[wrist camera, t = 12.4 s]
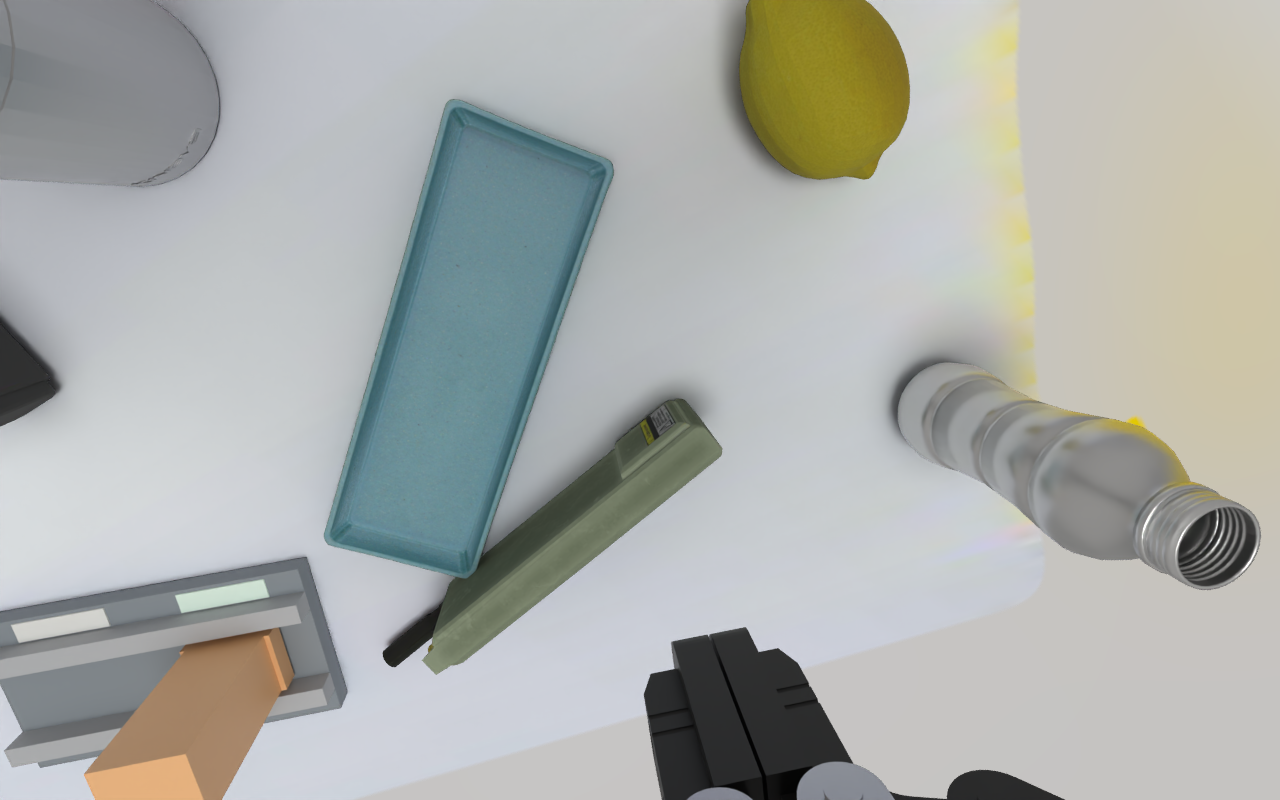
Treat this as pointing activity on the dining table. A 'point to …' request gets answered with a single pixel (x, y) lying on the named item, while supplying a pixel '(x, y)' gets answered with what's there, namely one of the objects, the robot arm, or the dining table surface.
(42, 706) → the grey slotted base
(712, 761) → the robot arm
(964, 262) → the dining table surface
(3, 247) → the dining table surface
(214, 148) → the dining table surface
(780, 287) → the dining table surface
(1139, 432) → the plastic bottle
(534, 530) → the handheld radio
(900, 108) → the lemon
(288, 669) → the switch tab
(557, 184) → the rectangular tray
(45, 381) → the card reader
